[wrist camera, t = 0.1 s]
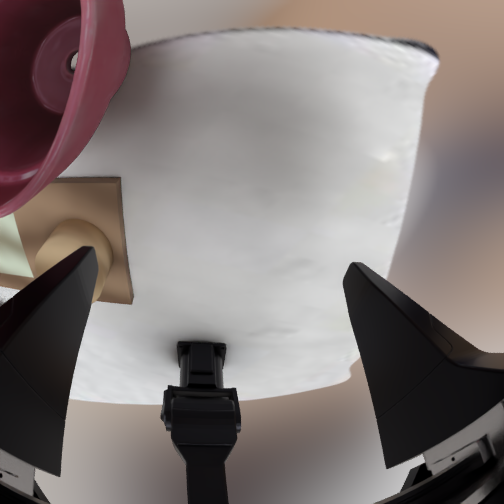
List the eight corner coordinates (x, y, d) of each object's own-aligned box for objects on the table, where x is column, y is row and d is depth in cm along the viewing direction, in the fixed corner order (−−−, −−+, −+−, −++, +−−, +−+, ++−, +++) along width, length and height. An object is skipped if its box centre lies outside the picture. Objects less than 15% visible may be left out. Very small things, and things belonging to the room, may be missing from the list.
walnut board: (133, 296, 29) (131, 304, 28) (-5, 278, 25) (-9, 284, 24) (120, 177, 21) (116, 183, 20) (-36, 185, 17) (-42, 189, 16)
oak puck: (118, 280, 26) (108, 309, 23) (61, 274, 25) (47, 300, 22) (108, 220, 22) (93, 246, 19) (45, 217, 21) (26, 242, 17)
